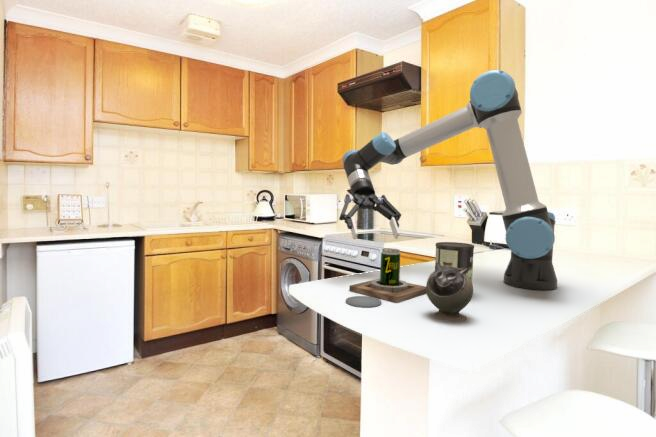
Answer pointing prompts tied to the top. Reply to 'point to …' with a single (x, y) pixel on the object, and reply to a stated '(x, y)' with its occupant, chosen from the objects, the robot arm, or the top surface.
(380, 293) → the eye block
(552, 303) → the top surface
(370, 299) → the coaster
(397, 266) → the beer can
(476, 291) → the top surface
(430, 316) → the top surface
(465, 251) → the coffee can
